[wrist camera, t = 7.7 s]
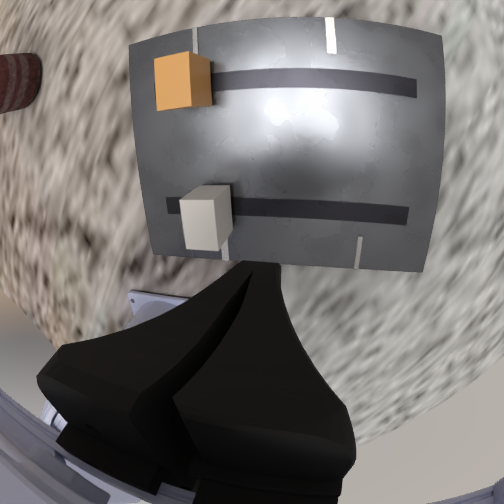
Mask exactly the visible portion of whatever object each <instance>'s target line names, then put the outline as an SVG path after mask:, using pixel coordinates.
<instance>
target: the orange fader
mask: <svg viewBox="0 0 504 504" xmlns="http://www.w3.org/2000/svg"><path fill="white" fill-rule="evenodd" d="M154 69H155V89H156V104H157V111H165V110H178V109H188V108H196V107H205V106H212V96H211V77H210V59H208V58H205V57H203V56H200V55H198V54H195V53H192V52H190V51H187V52H182V53H177V54H173V55H168V56H164V57H160V58H155V59H154Z"/></svg>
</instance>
